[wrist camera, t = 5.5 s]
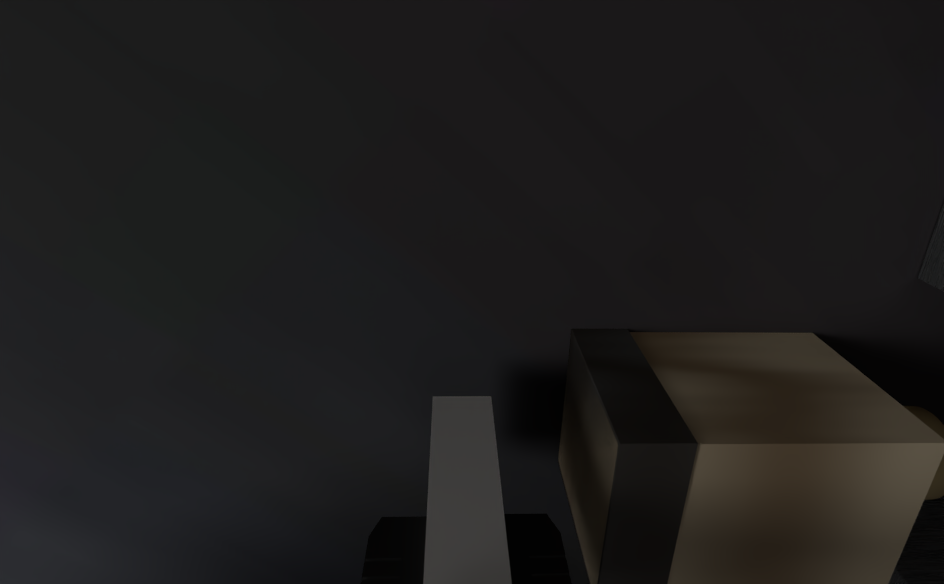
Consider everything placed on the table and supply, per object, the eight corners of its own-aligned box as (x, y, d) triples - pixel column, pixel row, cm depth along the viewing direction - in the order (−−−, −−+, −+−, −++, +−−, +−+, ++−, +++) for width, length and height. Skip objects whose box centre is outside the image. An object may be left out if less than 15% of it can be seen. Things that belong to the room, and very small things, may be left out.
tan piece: (557, 461, 18) (595, 606, 14) (571, 328, 16) (620, 443, 12) (836, 460, 19) (965, 600, 14) (880, 329, 17) (1045, 441, 12)
